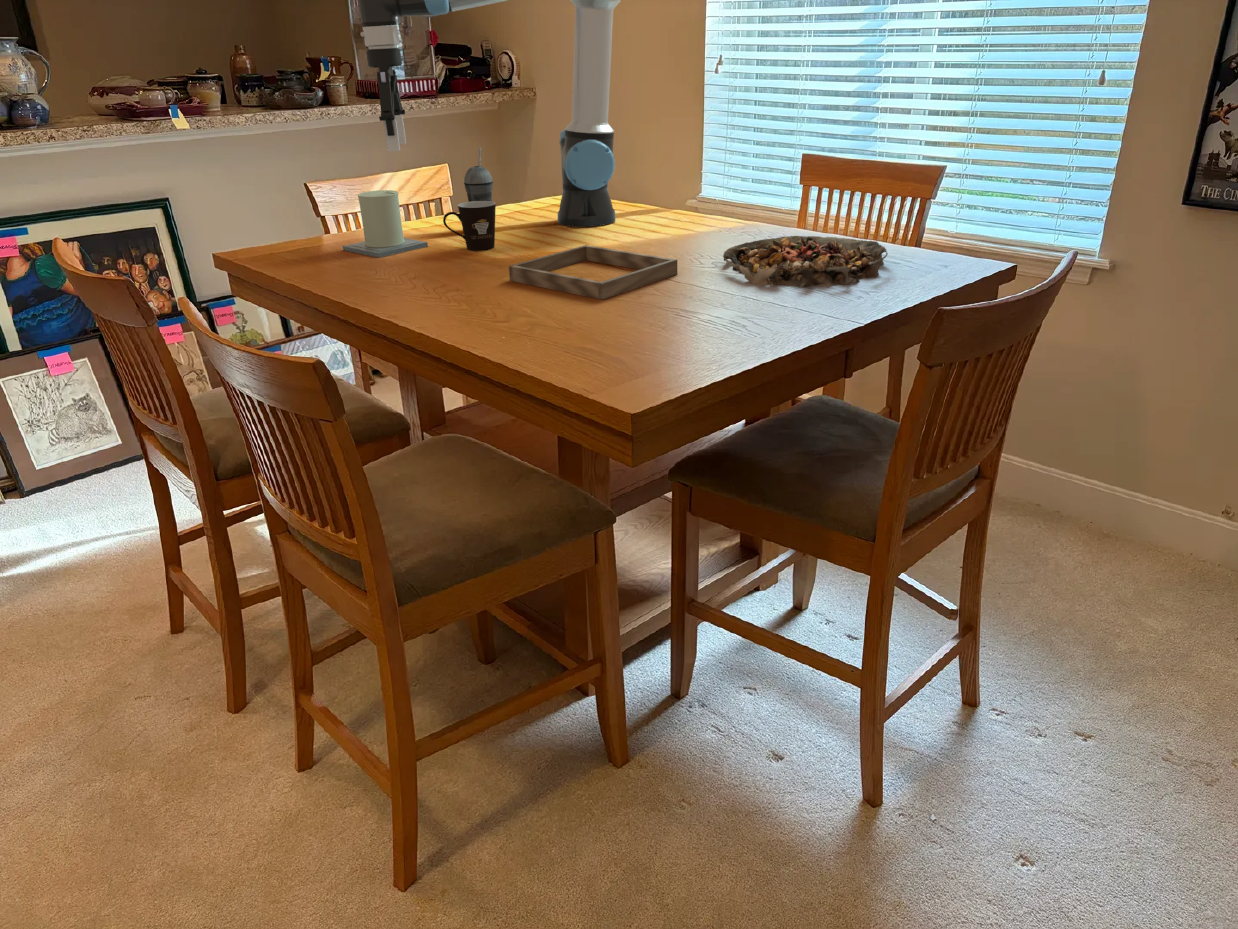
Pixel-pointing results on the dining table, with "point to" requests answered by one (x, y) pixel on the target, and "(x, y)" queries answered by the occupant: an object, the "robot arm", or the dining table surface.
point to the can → (381, 218)
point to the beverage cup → (478, 183)
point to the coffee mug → (476, 224)
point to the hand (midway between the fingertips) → (397, 147)
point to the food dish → (806, 261)
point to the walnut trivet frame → (539, 276)
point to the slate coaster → (385, 248)
